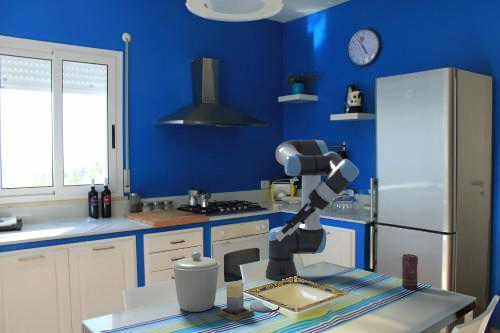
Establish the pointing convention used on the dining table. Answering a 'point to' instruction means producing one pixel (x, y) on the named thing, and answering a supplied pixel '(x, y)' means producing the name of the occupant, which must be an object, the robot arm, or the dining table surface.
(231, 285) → the yellow and grey cylinder
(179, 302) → the canister
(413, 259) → the can
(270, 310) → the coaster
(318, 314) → the dining table surface
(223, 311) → the socket frame
